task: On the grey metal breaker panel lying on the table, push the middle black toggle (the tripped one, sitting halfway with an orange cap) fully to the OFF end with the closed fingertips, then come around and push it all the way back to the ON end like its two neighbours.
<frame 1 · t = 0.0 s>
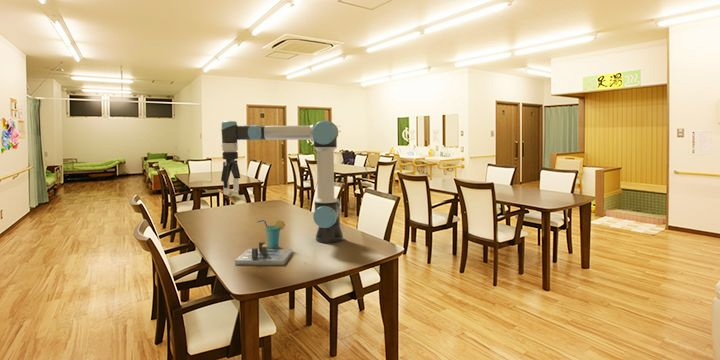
hand: (231, 192, 207), 28 cm above the table, fingers open, 13 cm apart
panel: (265, 258, 186), on the table
cup: (271, 247, 205), on the table
tripped breaker: (264, 249, 186), point 4 cm above the table, slide at 0.0 cm
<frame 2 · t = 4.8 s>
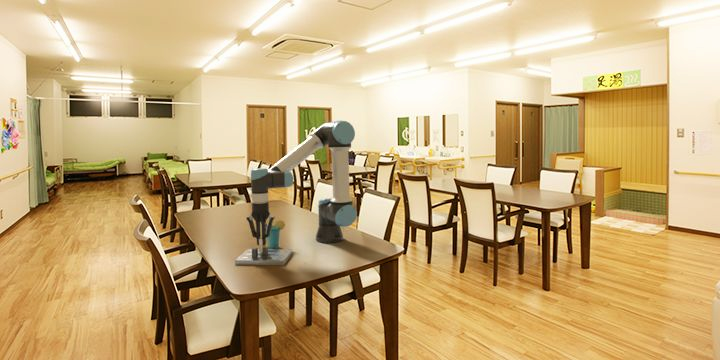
hand: (261, 251, 186), 3 cm above the table, fingers closed
tripped breaker: (265, 249, 186), point 4 cm above the table, slide at -0.2 cm, touching gripper
everything else where it was.
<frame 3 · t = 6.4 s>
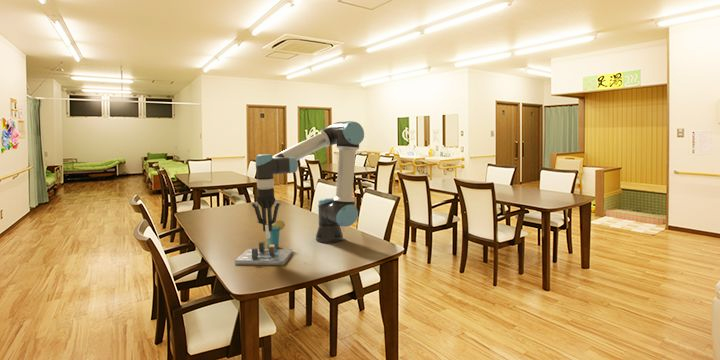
hand: (268, 238, 185), 10 cm above the table, fingers closed
tripped breaker: (272, 249, 186), point 4 cm above the table, slide at -3.4 cm
everything else where it was.
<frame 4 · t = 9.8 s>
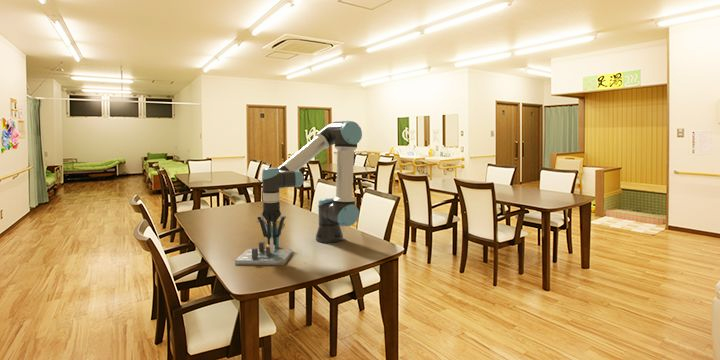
hand: (272, 251, 186), 4 cm above the table, fingers closed
tripped breaker: (268, 249, 186), point 4 cm above the table, slide at -1.9 cm, touching gripper
everything else where it was.
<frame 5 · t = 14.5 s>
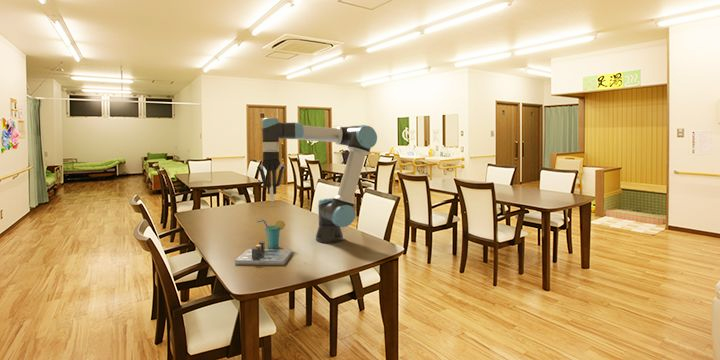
hand: (272, 200, 189), 26 cm above the table, fingers closed
tripped breaker: (258, 249, 186), point 4 cm above the table, slide at 3.0 cm
everything else where it was.
at the end: tripped breaker slide at 3.0 cm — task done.
